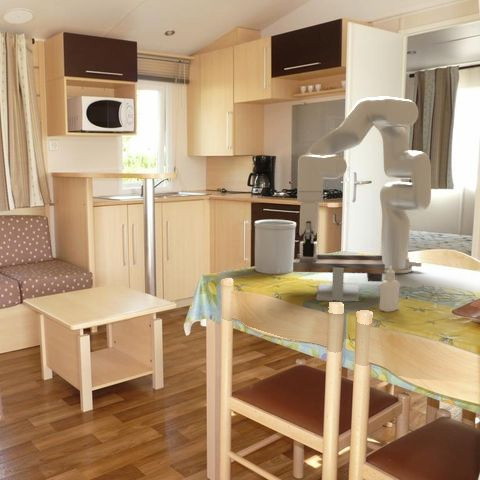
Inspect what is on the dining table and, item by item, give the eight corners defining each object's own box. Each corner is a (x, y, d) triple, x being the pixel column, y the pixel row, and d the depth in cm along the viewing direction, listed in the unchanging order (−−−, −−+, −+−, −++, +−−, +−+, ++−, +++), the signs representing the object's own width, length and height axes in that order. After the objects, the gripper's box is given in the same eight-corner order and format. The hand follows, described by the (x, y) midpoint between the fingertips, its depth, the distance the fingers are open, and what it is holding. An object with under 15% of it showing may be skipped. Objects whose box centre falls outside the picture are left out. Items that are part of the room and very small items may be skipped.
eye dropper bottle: (376, 307, 161) (377, 265, 159) (396, 307, 161) (397, 264, 159) (381, 312, 157) (383, 268, 155) (401, 311, 157) (403, 268, 155)
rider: (317, 260, 178) (317, 241, 178) (316, 263, 174) (316, 244, 173) (301, 260, 179) (301, 241, 178) (299, 263, 175) (299, 243, 174)
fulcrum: (357, 287, 183) (358, 258, 182) (358, 302, 167) (359, 269, 165) (319, 286, 185) (320, 256, 184) (316, 300, 169) (317, 267, 167)
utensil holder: (299, 267, 214) (300, 220, 211) (289, 276, 200) (290, 225, 197) (261, 265, 219) (261, 218, 216) (248, 273, 205) (248, 223, 202)
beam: (381, 273, 180) (382, 255, 179) (384, 284, 166) (384, 264, 165) (297, 271, 184) (297, 254, 184) (293, 281, 171) (293, 262, 170)
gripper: (299, 194, 182) (299, 248, 185) (294, 199, 165) (294, 258, 168) (324, 194, 181) (323, 248, 184) (321, 200, 164) (320, 259, 167)
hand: (309, 253), depth 176 cm, fingers open, 9 cm apart
